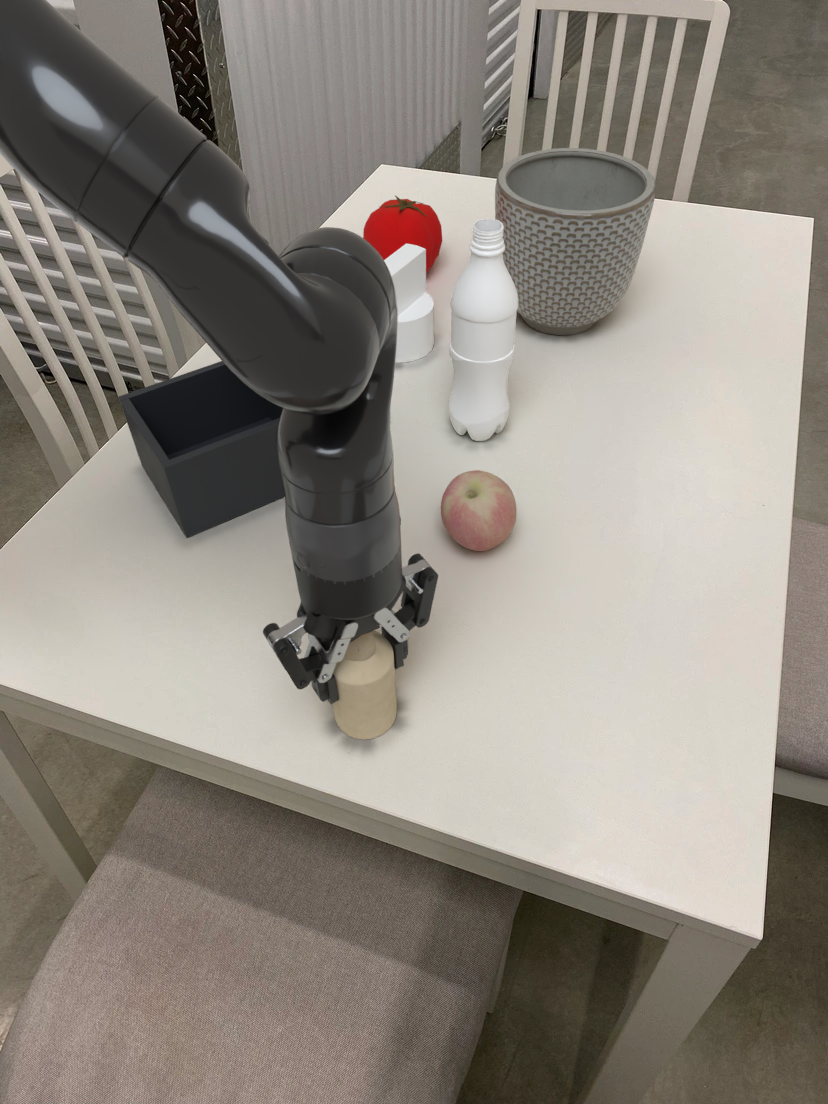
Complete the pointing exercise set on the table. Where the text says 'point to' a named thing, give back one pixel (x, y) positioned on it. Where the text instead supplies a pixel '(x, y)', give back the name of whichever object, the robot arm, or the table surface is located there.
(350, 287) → the robot arm
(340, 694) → the candle
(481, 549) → the apple
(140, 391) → the dark grey open box
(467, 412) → the water bottle
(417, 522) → the table surface
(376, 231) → the tomato
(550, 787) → the table surface
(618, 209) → the planter
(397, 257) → the base with upright slab
